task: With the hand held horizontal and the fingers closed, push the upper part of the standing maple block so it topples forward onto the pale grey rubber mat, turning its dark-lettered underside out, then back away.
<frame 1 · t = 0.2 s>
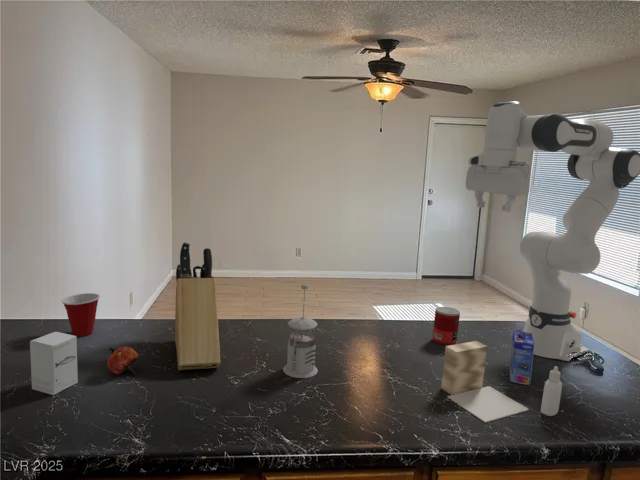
hand: (492, 209, 138), 47 cm above the counter, tool pointing down, fingers open, 8 cm apart
red rounded lump: (124, 373, 129), on the counter
canned food: (444, 341, 164), on the counter
french press: (298, 371, 135), on the counter
knife block: (195, 349, 146), on the counter
eye dropper bottle: (549, 412, 121), on the counter
block: (461, 388, 131), on the counter
supplement box: (55, 387, 119), on the counter
mat: (487, 403, 123), on the counter
plastic cup: (82, 333, 153), on the counter
ink cartridge box: (518, 377, 140), on the counter
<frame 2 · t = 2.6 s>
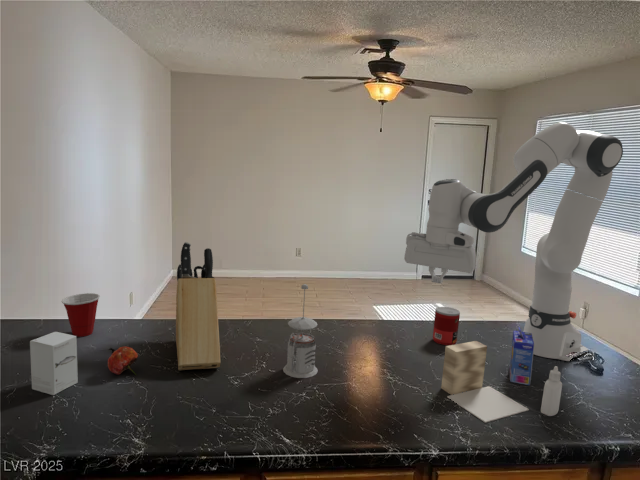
hand: (436, 282, 141), 25 cm above the counter, tool pointing down, fingers closed
nothing on the counter moved.
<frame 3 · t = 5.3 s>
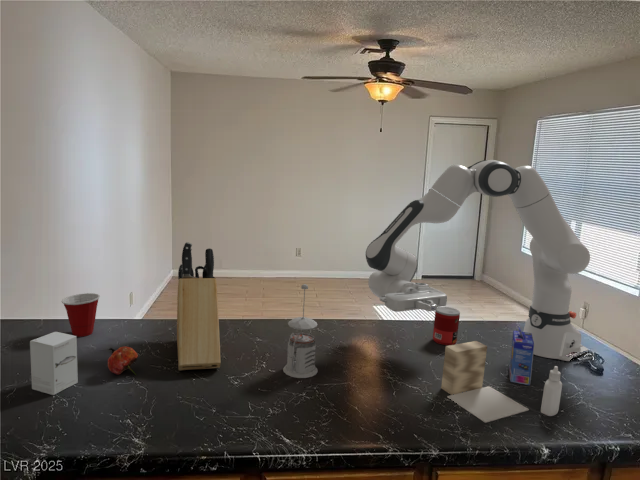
hand: (433, 308, 140), 18 cm above the counter, tool horizontal, fingers closed
nothing on the counter moved.
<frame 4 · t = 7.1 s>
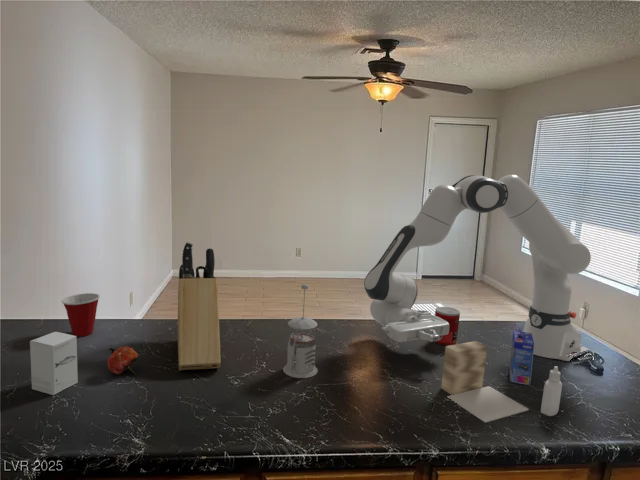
hand: (435, 338, 140), 9 cm above the counter, tool horizontal, fingers closed
nothing on the counter moved.
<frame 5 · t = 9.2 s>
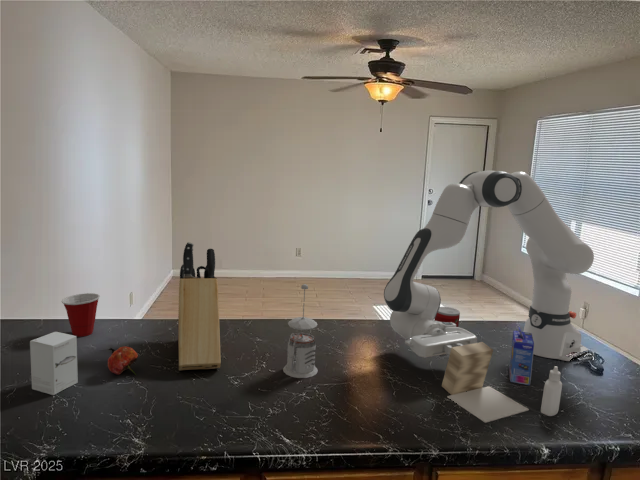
hand: (464, 354, 130), 9 cm above the counter, tool horizontal, fingers closed
block: (462, 386, 131), on the counter, tilted 10°, touching gripper
everything else where it was.
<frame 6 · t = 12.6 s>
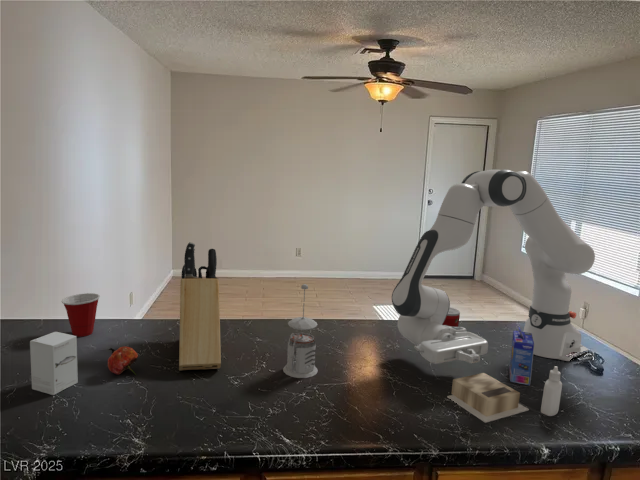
hand: (475, 360, 126), 10 cm above the counter, tool horizontal, fingers closed
block: (467, 383, 129), point 2 cm above the counter, tilted 90°, touching mat
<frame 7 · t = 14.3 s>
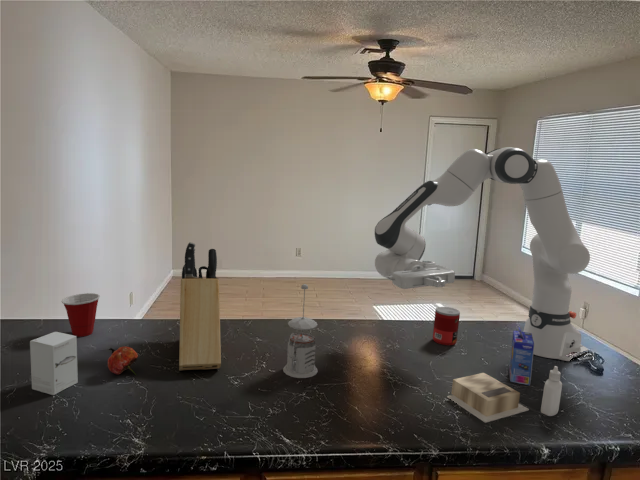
hand: (441, 284, 139), 25 cm above the counter, tool horizontal, fingers closed
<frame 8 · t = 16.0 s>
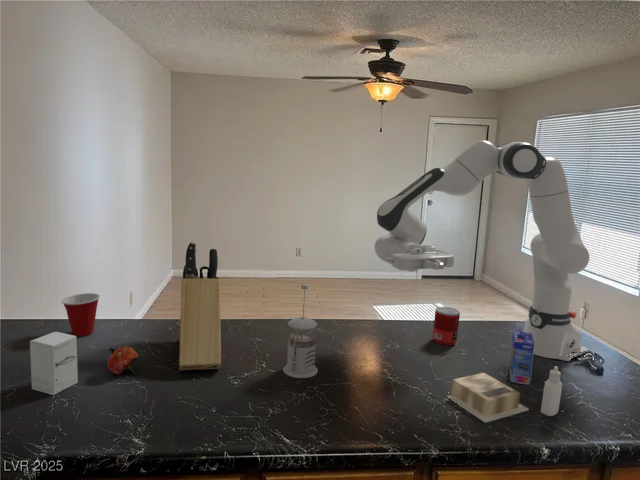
hand: (440, 266, 139), 30 cm above the counter, tool horizontal, fingers closed
at the end: block tilted 90°; block inside the target area (7.2 cm from its centre), point 2.3 cm above the counter; the gripper is holding nothing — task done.
